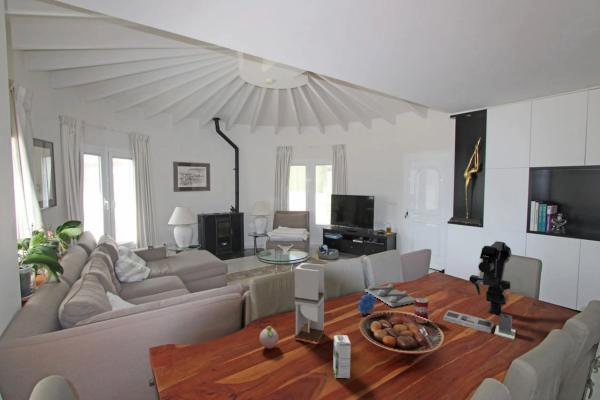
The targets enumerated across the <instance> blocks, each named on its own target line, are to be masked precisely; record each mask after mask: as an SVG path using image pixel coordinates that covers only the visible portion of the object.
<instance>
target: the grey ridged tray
mask: <svg viewBox="0 0 600 400" xmlns="http://www.w3.org/2000/svg"><path fill="white" fill-rule="evenodd" d="M363 291H364V292H365V293H367V292H368V293H370V294H372V295H374V296H375V297H376V298H375V299H377V298H378V299H380V300H381V301H380V300H379V301H380V302H382V301H383V302H382V303H383V304H385V303H386V304H385V305H387V304H388V305H387V306H389V307H390V306H391V308H396V306H397V307H402V306H401V305H403V306H407V305H406V304H408V305H412V304H411V303H413V304H414V300H415V299H416V297H415V298H414V297H413V296H411V295H409V294H408V291H407V290H403V291H400V290H398V289H396V288H395V287H394V284H392V283H389V284H388V285H381V286H376V287H373V286H372V285H370V286H368V288H365V289H364V290H363ZM368 293H367V294H368ZM378 299H377V300H378Z"/></svg>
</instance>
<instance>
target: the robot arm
mask: <svg viewBox="0 0 600 400" xmlns="http://www.w3.org/2000/svg"><path fill="white" fill-rule="evenodd" d="M511 257H512V249H511V247H509V246H508V245H507V243H506V242H504V241H497V240H496V241H494V243H493V244H491V245H484V246H483V247H481V252H480V256H479V260H480V259H481V260H482V261H481V262H480V263H478V266H477V267H478V270H479V271H480V272H481V273H483V274H482V277H481V278H480V276H479V275H474V274H472V275H470V276H469V279H468V281H469V282H470V283H471V284H472V285H474V286H475V288H476V291H477V293H478V296H480V295H481V286H480V283H482V285H483V286H487V287H488V288H487V290H486V292H485V297H486V301H487V302H489V309H488V311H487V312H488V313H490V314H494V315H497V316H499V315H500V313H501V314H504V312H503V310H502V309H503V308H502V307H503V306H504V305H505V306H506V305H507V301H506V300H507V299H506V296H505V292H504V291H507V290H511V287H512V282H511V281H510V280H509V281H508V280H505V279H504V273H505V267H506V264H507V263H508V262H509V261H510V258H511Z"/></svg>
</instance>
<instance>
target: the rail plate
mask: <svg viewBox="0 0 600 400" xmlns="http://www.w3.org/2000/svg"><path fill="white" fill-rule="evenodd" d="M442 318H443V320H442V321H445V322H448V323H452V324H455V325H459V326H463V327H467V328H469V329H470V328H471V329H474V330H477V331H481V332H485V333H487V334H491V333H492V330H493V328H494V321H492V320H490V319H489V320H488V319H486V318H481V317H478V316H472V315H469V314H466V313H461V312H458V311H453V310H449V309H448V310H447V311H446V313H445V314H444V315H443V317H442Z"/></svg>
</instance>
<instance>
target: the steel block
mask: <svg viewBox="0 0 600 400" xmlns="http://www.w3.org/2000/svg"><path fill="white" fill-rule="evenodd" d="M498 326H499V332H500V333H504V334H508V335H511V331H512V329H513V328H512V326H513V315H509V314H506V313H502V314H501V313H500V315H498Z"/></svg>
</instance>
